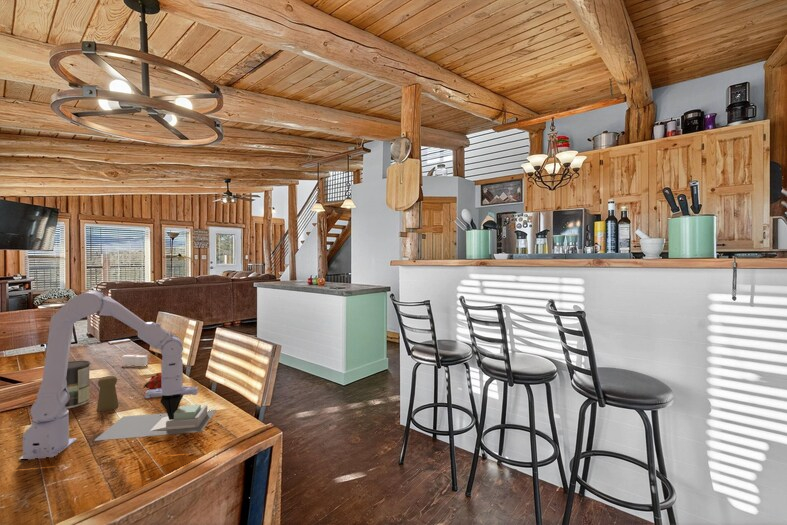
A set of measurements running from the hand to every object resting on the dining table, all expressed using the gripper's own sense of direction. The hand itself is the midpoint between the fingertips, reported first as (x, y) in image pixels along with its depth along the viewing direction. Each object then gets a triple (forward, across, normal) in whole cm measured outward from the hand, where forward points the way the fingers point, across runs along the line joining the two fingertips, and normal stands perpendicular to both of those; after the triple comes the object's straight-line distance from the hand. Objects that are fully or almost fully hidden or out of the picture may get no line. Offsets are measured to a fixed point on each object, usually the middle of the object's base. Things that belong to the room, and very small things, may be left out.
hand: (172, 418), depth 115 cm
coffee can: (+2, +42, -24) cm, 48 cm away
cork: (+2, +27, -17) cm, 32 cm away
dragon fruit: (+2, +15, -30) cm, 33 cm away
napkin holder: (+2, +42, -69) cm, 81 cm away
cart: (+1, -4, 0) cm, 4 cm away
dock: (+2, +4, 0) cm, 4 cm away
